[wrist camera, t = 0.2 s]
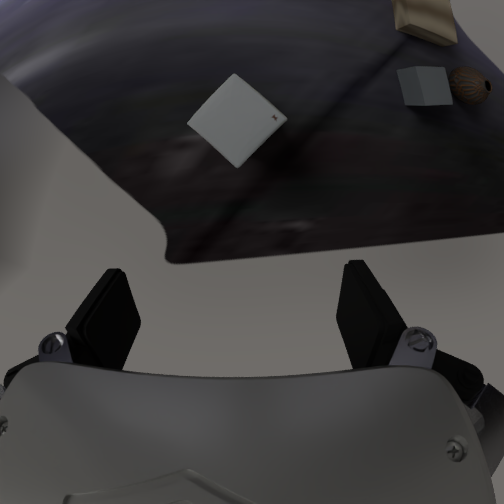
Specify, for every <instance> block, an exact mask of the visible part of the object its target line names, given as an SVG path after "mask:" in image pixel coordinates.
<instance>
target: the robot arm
mask: <svg viewBox="0 0 504 504" xmlns="http://www.w3.org/2000/svg"><path fill="white" fill-rule="evenodd" d="M336 320H337V324H338V326H339V329H340V332H341V335H342V338H343V341H344V343H345V347H346V350H347V352H348V355H349V358H350V361H351V365H352V368H353V369H350V370H342V371H334V372H324V373H313V374H301V375H288V376H268V377H195V376H176V375H163V374H151V373H141V372H132V371H124V370H122V369H123V366H124V364H125V361H126V359H127V356H128V354H129V352H130V349H131V347H132V344H133V342H134V340H135V337H136V335H137V333H138V330H139V328H140V325H141V320H140V316H139V313H138V311H137V308H136V305H135V302H134V299H133V296H132V293H131V290H130V287H129V284H128V280H127V277H126V274H125V272H122V270H121V269H118V268H117V269H107V270H106V272H105V273H104V274H103V276H102V277H101V278H100V279H99V281H98V282H97V283H96V285H95V286H94V287H93V289H92V290H91V291H90V293H89V294H88V296H87V297H86V298H85V300H84V301H83V302H82V304H81V305H80V307H79V308H78V309H77V311H76V312H75V314H74V315H73V317H72V318H71V319H70V321H69V322H68V324H67V325H66V327H65V328H66V330H67V334H66V335H65V334H63V333H61V332H54V333H51V334H49V335H47V336H46V337H45V338H43V340H42V341H41V342H40V344H39V348H38V351H39V355H37V356H35V357H33V358H31V359H29V360H27V361H25V362H23V363H21V364H19V365H17V366H15V367H13V368H11V369H10V370H8V372H7V373H6V375H5V378H4V386H2V385H1V384H0V504H496V499H495V494H494V489H493V485H492V480H491V477H492V475H493V473H494V472H495V470H496V468H497V467H498V465H499V463H500V461H501V460H502V458H503V456H504V395H503V394H502V393H501V392H499V391H498V390H497V389H495V388H494V387H493V386H492V385H490V384H489V383H488V384H487V385H485V384H484V378H483V375H482V373H481V371H480V370H479V369H478V368H477V367H476V366H474V365H473V364H470V363H468V362H466V361H463V360H461V359H459V358H456V357H454V356H452V355H449V354H447V353H445V352H442V351H440V350H438V349H437V341H436V338H435V336H434V335H433V334H432V333H431V332H430V331H428V330H426V329H424V328H421V327H410V328H408V327H407V326H406V324H405V322H404V321H403V319H402V318H401V316H400V314H399V313H398V311H397V309H396V307H395V306H394V304H393V303H392V301H391V299H390V298H389V296H388V295H387V293H386V292H385V290H383V289H382V288H381V286H380V284H379V283H378V281H377V280H376V278H375V277H374V275H373V274H372V272H371V271H370V269H369V268H368V266H367V265H366V263H365V262H364V260H350V261H349V263H348V264H345V266H344V271H343V278H342V284H341V291H340V297H339V303H338V309H337V314H336Z"/></svg>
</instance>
